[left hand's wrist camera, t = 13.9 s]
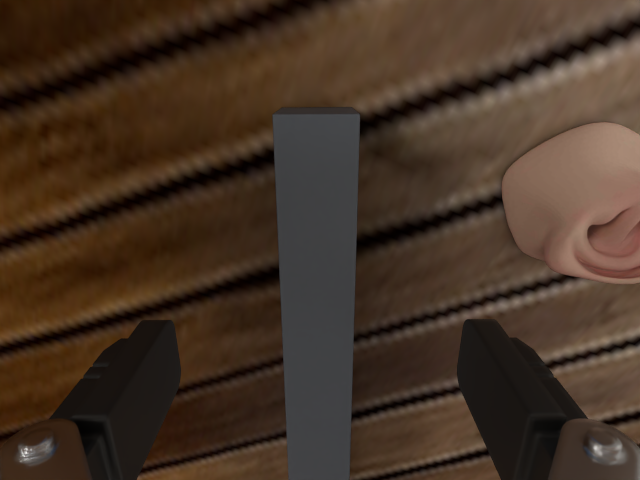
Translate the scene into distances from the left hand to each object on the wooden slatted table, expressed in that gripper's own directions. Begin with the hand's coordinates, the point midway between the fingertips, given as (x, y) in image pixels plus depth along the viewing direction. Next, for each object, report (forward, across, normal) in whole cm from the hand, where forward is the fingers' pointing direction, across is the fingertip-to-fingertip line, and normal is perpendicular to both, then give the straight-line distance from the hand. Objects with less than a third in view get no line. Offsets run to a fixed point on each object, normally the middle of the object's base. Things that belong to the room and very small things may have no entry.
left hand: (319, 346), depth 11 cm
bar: (+20, 0, -29) cm, 35 cm away
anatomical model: (+20, +20, -2) cm, 28 cm away
